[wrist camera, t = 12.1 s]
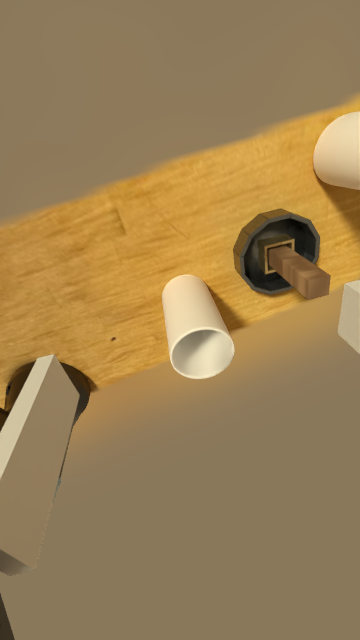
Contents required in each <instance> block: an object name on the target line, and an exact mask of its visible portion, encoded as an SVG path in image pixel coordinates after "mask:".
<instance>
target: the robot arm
mask: <svg viewBox="0 0 360 640" xmlns="http://www.w3.org/2000/svg"><path fill="white" fill-rule="evenodd" d="M338 334H339V335H340V336H341V337H342V338H343V339H344V340H346V342H347V343H348V344H349V345H350V346H352V347H353V348H354V349H355V350H356V351H357V352H358V353H359V354H360V280H358V281H354V282H350V283H346V284H345V286H344V293H343V300H342V307H341V314H340V320H339V327H338ZM89 396H90V385H89V383H88V381H87V379H86V378H85V376H84V375H83V374H82V373H80V372H79V371H78V370H76V369H75V368H73V367H71V366H69V365H66V364H63V363H60V362H59V361H58V359H57V358H56V356H55V354H53V355H49V356H44V357H40V358H37V360H36V362H32V363H29V364H26V365H24V366H22V367H21V368H19V369H18V370H17V371H16V372H15V373H14V374H13V376H12V378H11V379H10V381H9V383H8V385H7V388H6V398H5V407H4V409H2V408H0V571H1V572H3V573H5V574H7V575H9V576H13V575H16V574H21V573H25V572H30V571H34V570H35V569H36V565H37V561H38V557H39V553H40V549H41V545H42V541H43V537H44V533H45V530H46V526H47V522H48V518H49V514H50V510H51V506H52V503H53V501H54V498H55V495H56V492H57V489H58V486H59V485H60V477H61V473H62V469H63V465H64V461H65V457H66V453H67V449H68V445H69V440H70V436H71V432H72V428H73V426H74V424H75V423H76V421H77V420H78V418H79V416H80V414H81V413H82V412H83V411H84V410H85V408H86V406H87V404H88V401H89ZM0 640H15V639H14V636H13V633H12V630H11V626H10V623H9V620H8V617H7V614H6V610H5V607H4V604H3V601H2V598H1V594H0Z"/></svg>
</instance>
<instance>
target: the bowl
mask: <svg viewBox="0 0 360 640" xmlns="http://www.w3.org/2000/svg"><path fill="white" fill-rule="evenodd" d="M282 244H284V245H286V246H287V247H289V248H290V249H292V250H293V251H295V252H296V253H298V254H299V255H301V256H302V257H304V258H305V259H307V260H308V261H310V262H311V263H313V264H315V263H316V261H317V259H318V257H319V245H320V236H319V234H318V232H317V231H316V229H315V227H314V225H313V224H312V222H311V220H309V219H306V218H304V217H302V216H299V215H297V214H294V213H291V212H288V211H286V210H283V209H277V210H273V211H269V212H265V213H261V214H258V215H257V216H256V217H255V218H254V219H253V220H252V221H250V222H249V223H248V224H247V225H246V226H245V227H244V228H243V229H242V230H241V232H240V234H239V237H238V239H237V241H236V244H235V246H234V248H233V254H234V264H235V269H236V270H237V272H238V273H239V274H240V276H241V277H242V278H243V279H244V280H245V282H246V283H247V284H248V285H249V286H250V288H251V289H252V290H254V291H258V292H262V293H265V294H269V295H271V294H275V293H279V292H283V291H288V290H290V289H292V288H293V286H292V285H291V284H290V283H289V282H287V281H286V280H285V279H284V278H283V277H282V276H281V275H280V274H279V273H278V272H276V271H275V270H274V269H273V268H272V267H271V266H270V265H269V264H268V260H267V248H270V247H274V246H278V245H282Z"/></svg>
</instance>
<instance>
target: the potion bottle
mask: <svg viewBox="0 0 360 640" xmlns="http://www.w3.org/2000/svg"><path fill="white" fill-rule="evenodd" d="M313 165H314V170H315V172H316V175H317V176H318V177H319V178H320V179H321V181H323V182H325V183H327V184H330V185H335V186H340V187H345V188H351V189H356V190H360V111H359V112H353V113H348V114H346V115H343V116H341V117H338V118H337V119H336V120H334V121H333V122H332V123H330V124H329V125H328V126H327V128H326V129H325V130H324V131H323V133H322V134H321V135H320V138H319V140H318V142H317V144H316V146H315V151H314V155H313Z"/></svg>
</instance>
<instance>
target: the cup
mask: <svg viewBox="0 0 360 640" xmlns="http://www.w3.org/2000/svg"><path fill="white" fill-rule="evenodd" d="M162 301H163V309H164V316H165V324H166V331H167V339H168V346H169V353H170V360H171V363H172V366H173V367H174V369H175V370H176V371H177V372H178V373H179V374H181V375H183V376H185V377H188V378H193V379H203V378H208V377H212V376H215V375H217V374H219V373H220V372H222V371H223V370H224V369H225V368H227V367H228V365H229V364H230V363H231V361H232V359H233V357H234V353H235V348H234V343H233V340H232V338H231V336H230V334H229V332H228V330H227V327H226V325H225V323H224V321H223V319H222V317H221V315H220V313H219V311H218V308H217V306H216V304H215V302H214V300H213V298H212V296H211V294H210V292H209V289H208V287H207V285H206V284H205V282H204V281H203V280H202V279H200V278H199V277H197V276H194V275H180V276H177V277H175V278H173V279H172V280H171V281H169V282H168V283H167V285H166V286H165V288H164V290H163V294H162Z"/></svg>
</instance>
